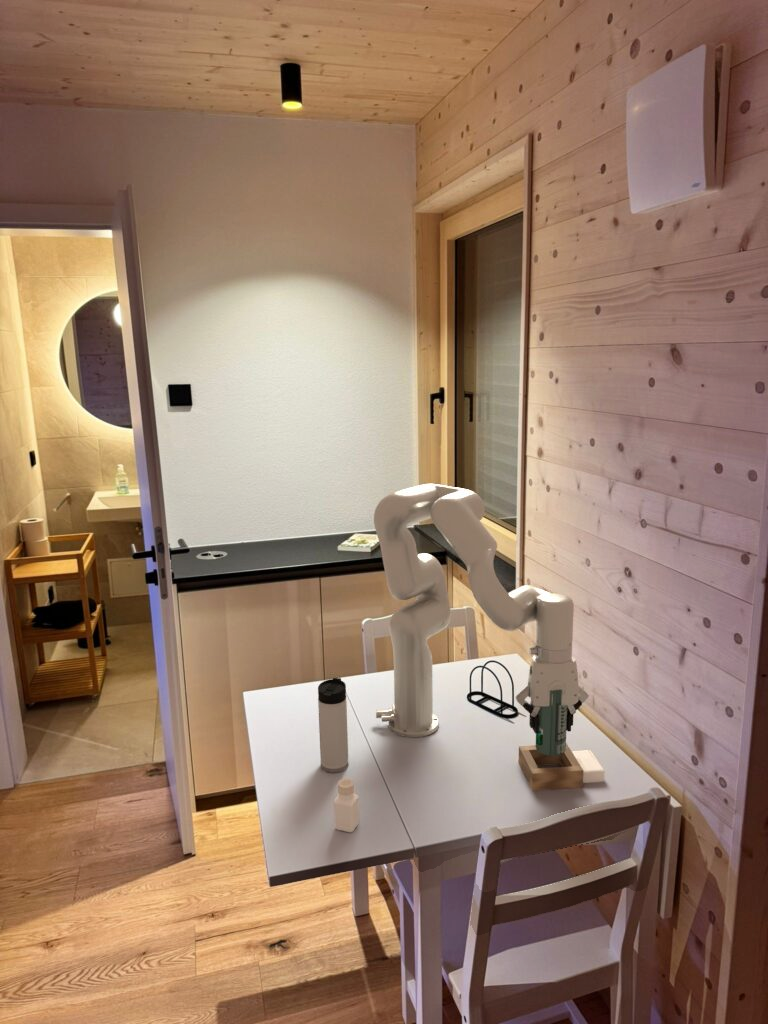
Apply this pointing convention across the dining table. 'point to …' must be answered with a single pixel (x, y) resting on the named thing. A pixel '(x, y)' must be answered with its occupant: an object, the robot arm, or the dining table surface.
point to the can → (552, 726)
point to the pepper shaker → (346, 806)
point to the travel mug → (333, 725)
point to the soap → (589, 766)
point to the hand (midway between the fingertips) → (551, 728)
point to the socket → (550, 769)
